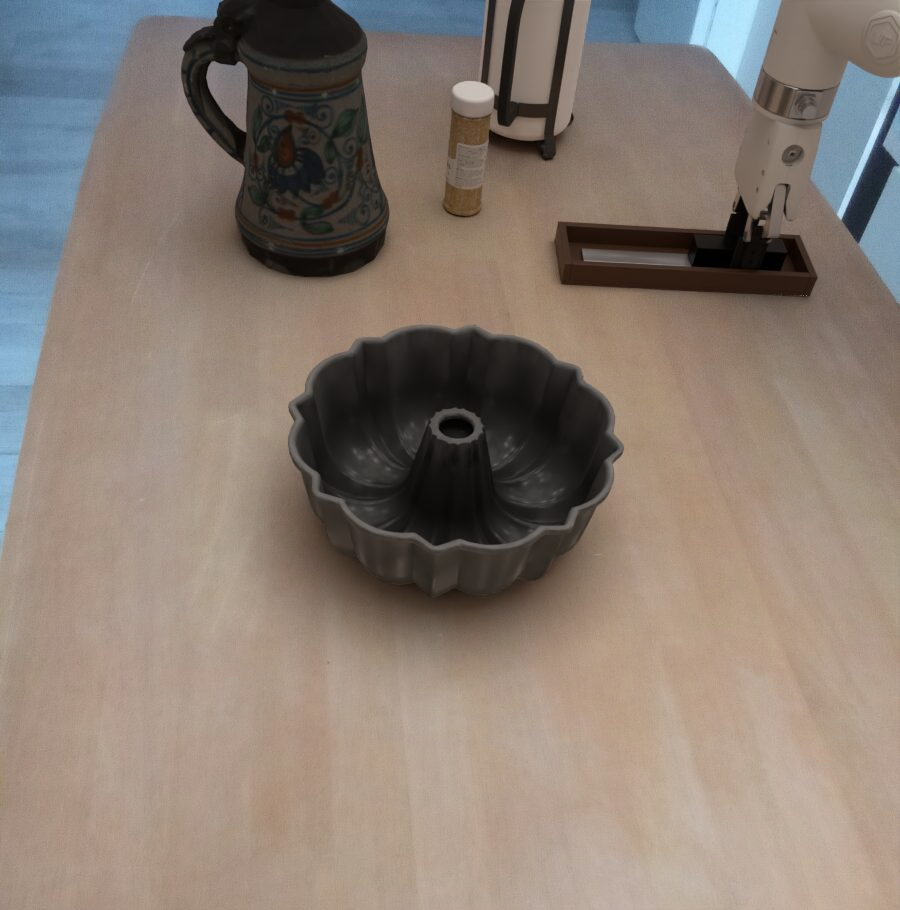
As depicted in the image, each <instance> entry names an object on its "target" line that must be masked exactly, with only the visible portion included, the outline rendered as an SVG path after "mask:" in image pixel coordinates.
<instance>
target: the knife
mask: <svg viewBox="0 0 900 910" xmlns="http://www.w3.org/2000/svg"><path fill="white" fill-rule="evenodd" d="M738 239H739V237H735V236H717V235H699V234H693V238H692V241H691V244H690V248H689V251H688V254H675V253H657V252H639V251H620V250H602V249H584V248H582V249H581V258H582V261H598V262H617V263H635V264H654V265H673V266H691V267H710V268H729V269H730V263H731V260H732V257H733V254H734V251H735V248H736V245H737V242H738ZM786 255H787V250H786V247H785V245H784V242H783V240H782V239H772V240H771V243H770V244H768V247H767V250H766V253H765V256H764V258H763V261H762V264H761V267H760V270H766V271H781V268H782V266H783V263H784V261H785V258H786Z"/></svg>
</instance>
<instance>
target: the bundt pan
mask: <svg viewBox="0 0 900 910" xmlns="http://www.w3.org/2000/svg"><path fill="white" fill-rule="evenodd" d="M287 405H288V413H289V415H290V417H291V419H292V420H293V423H292V425H291V427H290V430H289V433H288V436H287V446H288V452H289V456H290V458H291V461H292V463H293V464H294V466H295V468H297V471H299V472H300V474H301V477H302V482H303V485H304V488H305V491H306V495H307V499H308V503H309V505H310V507H311V509H312V511H313V513H314V515H315V516H316V518H318V520H319V521H320V522H321V523H322V524H323V525H324V526H325V529H326V533H327V536H328V541H329V543H330V545H331V547H332V548H333V549H334V551H335V552H337V553H339V554H340V555H342V556H345V557H350V558H357V559H358V561H359V562H360V564H361V566H362V567H363V568H364V569H365V571H367V572H368V573H369V574H370V575H371V576H373V577H374V578H376V579H377V580H379V581H382V582H384V583H388V584H389V585H390V584H391V585H395V586H396V585H399V586H403V585H411V584H414V583H415V584H416V585H417V587H419V588H420V589H421V590H422V591H423V592H424V593H425V594H427V595H428V597H429V598H431V599H436V598H438V597H440V596H442V595H444V594H446V593H447V592H450V591H452V590H454V589H456V590H458V591H460V592H461V593H464V594H467V595H471V596H478V597H479V596H480V597H481V596H490V595H493V594H496V593H499V592H501V591H503V590H505V589H506V588H508V587H510V586H511V585H513V583H514V582H515V581H516V580H521V581H522V580H523V581H528V582H529V581H531V582H533V581H538V580H540V579H541V578H543V577H545V575H546V574H547V573H548V572H549V570H550V568H551V566H552V563H553V562H554V560H555V559H557V558H559V557H562V556H563V555H565V554H566V553H568V552H569V551H571V550H573V548H574V547H575V546H576V544H577V543H579V541H580V540H581V538H582V537H583V534H584V533H585V531H586V529H587V527H588V525H589V523H590V522H591V519H592V517H593V515H594V513H595V511H596V510H597V508H598V506H600V505H601V504H602V503H603V502H604V501H605V500H606V499H607V497H608V496H609V494H610V492H611V491H612V488H613V484H614V482H615V468H614V463H616V461H618V460H619V459H620V458H621V457H622V456H623V453H624V450H625V445H624V443H623V442H622V441H621V440H620V439H619V437H618V436H616V434H615V425H616V413H615V410H614V407H613V405H612V404H611V402H610V400H609V399H608V398H607V397H606V396H605V395H604V394H603V393H602V392H601V391H600V390H599V389H597V388H596V387H594V386H593V385H592V384H590V383H588V382H586V381H585V380H584V374H583V370H582V368H581V367H580V366H579V365H576V364H573V363H569V362H566V361H562V360H559V359H557V358H556V357H555V356H554V354H553V353H552V352H551V351H549V350H548V349H547V348H545V347H544V346H542V345H541V344H539V343H538V342H535V341H532V340H530V339H528V338H525V337H522V336H517V335H512V334H502V333H501V334H500V333H499V334H498V333H492V332H490V331H487V330H486V329H483V328H482V327H480V326H478V325H476V324H468V325H463V326H460V327H456V328H452V327H448V326H443V325H435V324H415V325H413V324H412V325H406V326H403V327H399V328H396V329H394V330H392V331H389V332H388V333H386V334H384V335H383V336H361V337H358V338H356V339H355V340H354V342H352V343H351V346H350V348H349V349H348V350H346V351H342V352H338V353H334V354H333V355H331V356H328V357H326V358H324V359H323V360H321V361H320V362H318V364H316V365H315V366H314V367H313V368H312V370H311V371H310V372H309V374H308V375H307V377H306V380H305V384H304V392H302V393H301V394H299V395H298V396H296V397H295V398H293V399H292V400H290V401H289V403H288V404H287Z"/></svg>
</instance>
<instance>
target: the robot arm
mask: <svg viewBox="0 0 900 910" xmlns="http://www.w3.org/2000/svg"><path fill="white" fill-rule="evenodd" d="M849 62H850V63H851V64H853V65H854V66H856V67H858V68H859V69H861V70H863V71H865V72H866V73H868V74H871V75H873V76H875V77H880V78H883V79H889V78H890V79H893V78H900V0H780V4H779V6H778V10H777V14H776V17H775V20H774V24H773V27H772V30H771V34H770V37H769V41H768V44H767V47H766V50H765V53H764V57H763V60H762V64H761V66H760V70H759V74H758V77H757V81H756V84H755V87H754V91H753V93H752V97H751V103H752V106H753V109H752V111H751V114H750V117H749V119H748V122H747V125H746V128H745V131H744V134H743V137H742V140H741V143H740V146H739V148H738V149H739V150H738V153H737V157H736V161H735V165H734V179H735V182H736V185H737V192H736V193H735V197H734V200H733V202H732V206H731V211H732V212H731V213H730V215H729V218H728V222H727V225H726V228H725V230H724V231H725V234H724V236H735V237H739V239H738V242H737V245H736V248H735V251H734V254H733V257H732V260H731V263H730V269H747V270H760V267H761V264H762V261H763V258H764V256H765V253H766V250H767V247H768V244H770V243H771V240H772V239H778V238H779V236H780V234H781V230H782V222H783V216H784V218H785V220H786V221H788V222H793V221H795V220H796V219H797V217H798V215H799V212H800V210H801V207H802V204H803V200H804V197H805V194H806V191H807V188H808V186H809V182H810V178H811V175H812V171H813V168H814V165H815V161H816V158H817V154H818V150H819V146H820V142H821V141H820V140H821V135H822V130H823V122H825V121H826V120H827V119H828V117H829V115H830V112H831V110H832V107H833V104H834V101H835V99H836V96H837V93H838V90H839V88H840V85H841V82H842V79H843V77H844V74H845V71H846V69H847V66H848V64H849ZM765 209H767V210H765ZM761 221H765V223H764V225H759V223H760V222H761Z"/></svg>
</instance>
